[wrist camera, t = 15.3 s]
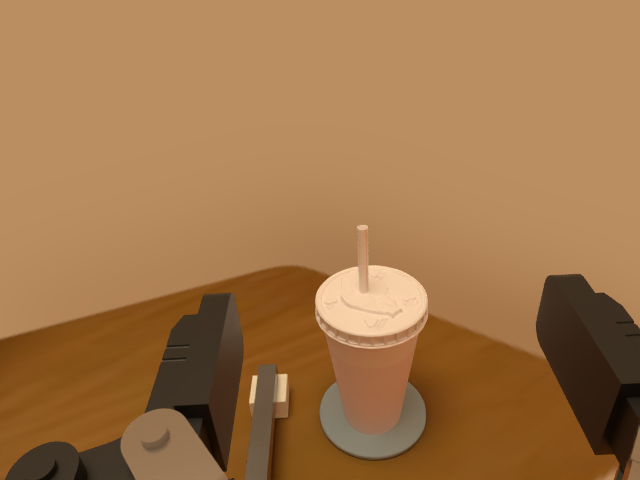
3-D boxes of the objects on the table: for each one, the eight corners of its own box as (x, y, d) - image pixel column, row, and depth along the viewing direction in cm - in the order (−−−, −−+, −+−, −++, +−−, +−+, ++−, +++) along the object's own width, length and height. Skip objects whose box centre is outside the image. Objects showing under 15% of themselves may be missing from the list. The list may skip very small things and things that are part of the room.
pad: (339, 474, 32) (338, 470, 31) (308, 389, 37) (307, 385, 37) (445, 441, 33) (445, 437, 33) (399, 363, 39) (399, 360, 39)
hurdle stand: (280, 557, 28) (277, 541, 27) (235, 559, 28) (230, 543, 27) (289, 389, 37) (287, 373, 37) (255, 391, 37) (252, 375, 37)
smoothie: (371, 361, 39) (369, 190, 31) (442, 412, 34) (459, 229, 27) (304, 410, 35) (283, 232, 28) (373, 473, 31) (371, 284, 23)
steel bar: (265, 537, 27) (262, 525, 26) (242, 539, 27) (239, 526, 26) (278, 376, 36) (276, 364, 36) (261, 377, 36) (258, 365, 36)
